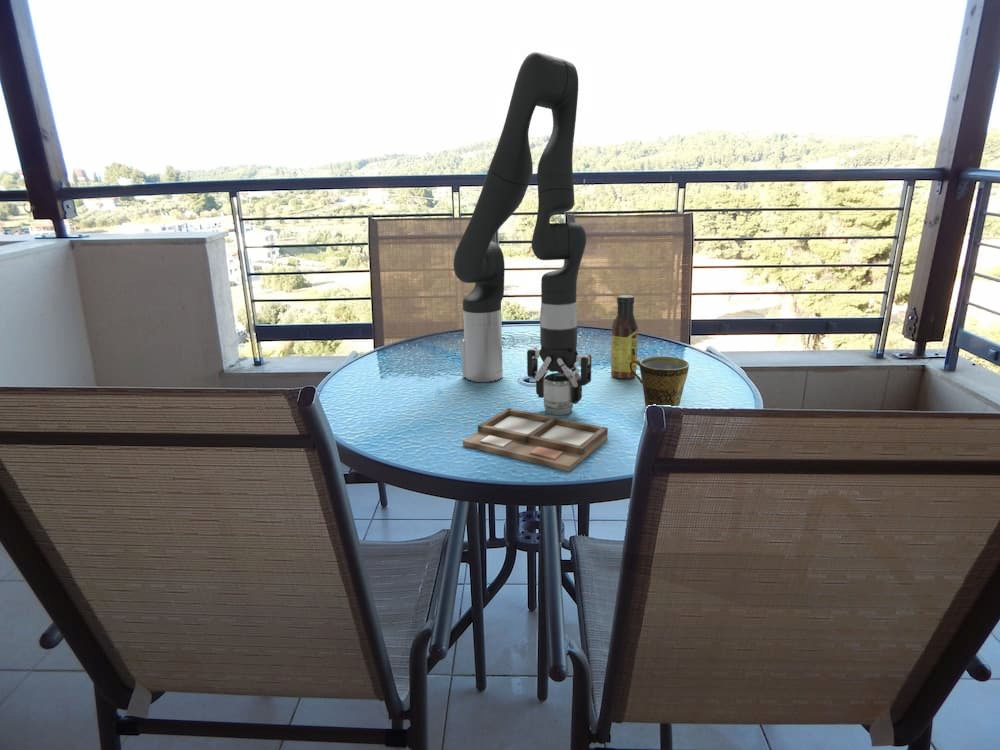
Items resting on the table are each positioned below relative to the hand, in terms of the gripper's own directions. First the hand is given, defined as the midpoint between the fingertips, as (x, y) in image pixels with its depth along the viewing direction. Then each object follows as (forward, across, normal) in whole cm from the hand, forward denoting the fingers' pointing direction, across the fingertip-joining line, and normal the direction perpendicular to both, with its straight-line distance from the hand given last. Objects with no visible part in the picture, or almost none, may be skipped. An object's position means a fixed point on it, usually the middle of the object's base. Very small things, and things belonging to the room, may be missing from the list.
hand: (558, 399), depth 132 cm
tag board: (+2, -4, +17) cm, 18 cm away
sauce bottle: (+3, -3, -29) cm, 29 cm away
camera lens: (+3, 0, 0) cm, 3 cm away
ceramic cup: (+3, -17, -12) cm, 21 cm away
